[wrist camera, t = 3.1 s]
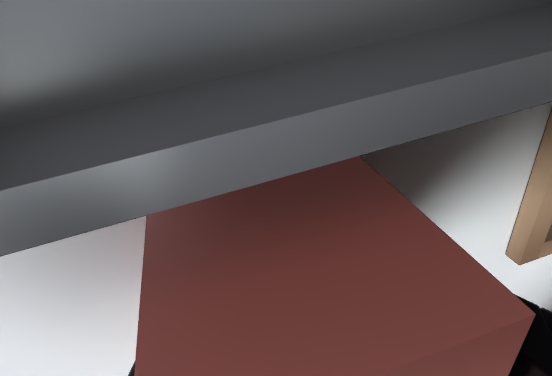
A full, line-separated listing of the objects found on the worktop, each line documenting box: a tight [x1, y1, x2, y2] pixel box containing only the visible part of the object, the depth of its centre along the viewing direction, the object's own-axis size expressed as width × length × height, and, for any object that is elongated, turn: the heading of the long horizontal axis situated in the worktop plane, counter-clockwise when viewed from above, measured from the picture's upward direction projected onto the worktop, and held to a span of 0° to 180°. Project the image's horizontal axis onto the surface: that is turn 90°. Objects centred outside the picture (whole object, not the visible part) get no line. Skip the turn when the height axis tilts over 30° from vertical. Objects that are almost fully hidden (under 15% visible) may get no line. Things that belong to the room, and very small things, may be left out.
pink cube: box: [134, 156, 536, 376], centre depth 7 cm, size 5×5×5 cm
